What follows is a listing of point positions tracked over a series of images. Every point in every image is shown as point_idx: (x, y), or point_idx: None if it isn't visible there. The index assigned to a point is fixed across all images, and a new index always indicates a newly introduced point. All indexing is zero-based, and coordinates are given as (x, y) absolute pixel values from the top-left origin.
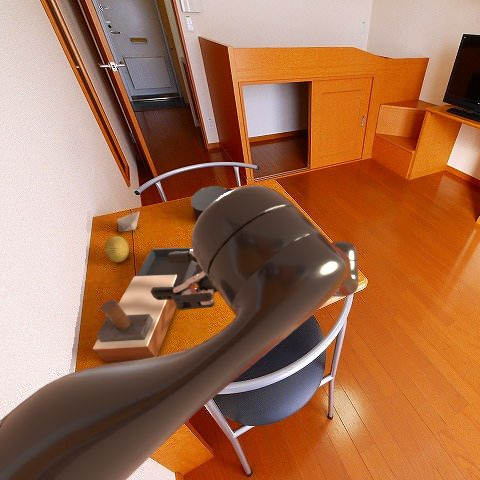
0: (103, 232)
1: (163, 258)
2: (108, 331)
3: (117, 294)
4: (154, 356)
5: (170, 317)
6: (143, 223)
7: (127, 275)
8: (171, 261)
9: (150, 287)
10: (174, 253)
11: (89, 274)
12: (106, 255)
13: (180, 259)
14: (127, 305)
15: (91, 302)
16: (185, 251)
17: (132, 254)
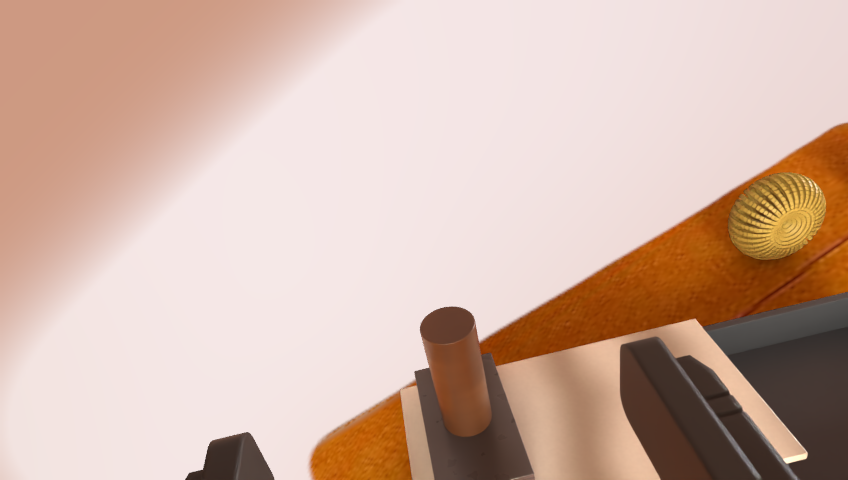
0: (816, 163)
1: None
2: (434, 391)
3: (637, 327)
4: None
5: None
6: None
7: (718, 304)
8: (625, 399)
9: None
10: (668, 370)
11: (664, 234)
12: (730, 213)
13: (665, 456)
14: (570, 377)
15: (584, 294)
16: (769, 445)
17: (804, 263)
